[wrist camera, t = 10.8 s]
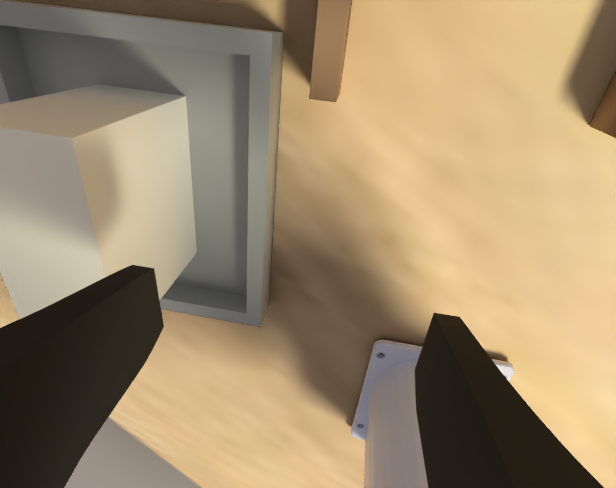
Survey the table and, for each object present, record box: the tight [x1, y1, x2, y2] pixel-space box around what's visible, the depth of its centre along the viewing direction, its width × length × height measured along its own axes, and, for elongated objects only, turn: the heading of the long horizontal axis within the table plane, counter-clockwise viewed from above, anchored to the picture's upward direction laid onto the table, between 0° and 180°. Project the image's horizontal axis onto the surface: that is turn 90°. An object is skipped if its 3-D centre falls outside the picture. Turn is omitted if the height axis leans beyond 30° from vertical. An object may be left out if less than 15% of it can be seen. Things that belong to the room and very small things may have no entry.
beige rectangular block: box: [0, 84, 197, 319], centre depth 15 cm, size 9×4×7 cm, turn 174°
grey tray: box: [0, 0, 284, 327], centre depth 18 cm, size 14×12×2 cm
